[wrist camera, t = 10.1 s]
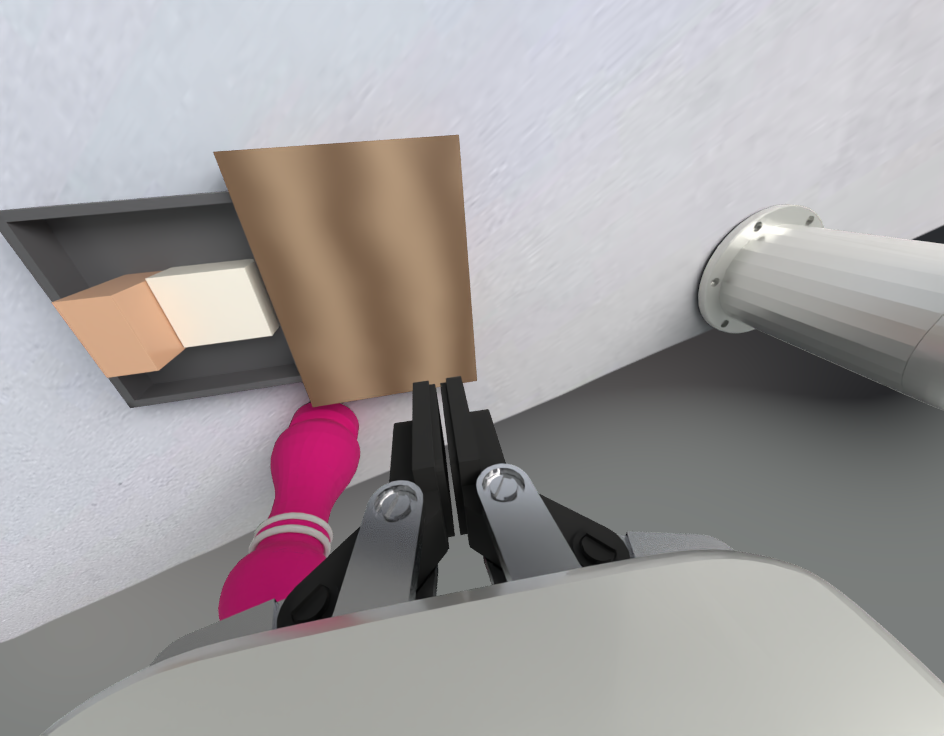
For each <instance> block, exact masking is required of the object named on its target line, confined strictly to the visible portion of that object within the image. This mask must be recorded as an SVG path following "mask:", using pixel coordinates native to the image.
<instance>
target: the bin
mask: <svg viewBox="0 0 944 736" xmlns="http://www.w3.org/2000/svg"><path fill="white" fill-rule="evenodd" d="M0 232H1V233H2V235H3V236H4V237H5V239H6V240H7V242H8V243H9V244H10V246H11V247H12V248H13V250H14V251H15V252H16V254H17V255H18V256H19V258H20V259H21V261H22V262H23V263H24V265H25V266H26V267H27V269H28V270H29V271H30V273H31V274H32V275H33V277H34V278H35V279H36V281H37V282H38V284H39V285H40V286H41V288H42V289H43V290H44V292H45V293H46V294H47V296H48V297H49V298H50V300H51V301H52V302H54V301H57V300H59V299H62V298H65V297H67V296H70V295H73V294H75V293H78V292H80V291H83V290H86V289H88V288H91V287H94V286H96V285H99V284H102V283H104V282H107V281H110V280H112V279H115V278H118V277H120V276H123V275H127V274H136V273H145V272H155V271H164V270H167V269H169V268H171V267H180V266H189V265H198V264H208V263H217V262H226V261H236V260H245V259H254V262H255V264H256V267H257V269H258V272H259V274H260V277H261V279H262V282H263V285H264V287H265V290H266V292H267V295H268V297H269V300H270V302H271V305H272V307H273V304H272V301H271V299H270V296H269V294H268V291H267V289H266V286H265V284H264V281H263V278H262V276H261V273H260V271H259V268H258V266H257V263H256V260H255V258H254V255H253V253H252V250H251V248H250V245H249V243H248V240H247V237H246V235H245V232H244V230H243V227H242V225H241V222H240V219H239V217H238V214H237V212H236V209H235V207H234V204H233V202H232V199H231V196H230V194H229V191H223V192H211V193H199V194H187V195H175V196H163V197H151V198H138V199H126V200H114V201H102V202H90V203H78V204H66V205H54V206H42V207H31V208H21V209H10V210H0ZM273 310H274V313H275V315H276V318H277V320H278V323H279V325H280V322H279V319H278V317H277V314H276V312H275V309H274V307H273ZM109 380H110V381H111V382H112V384H113V385H114V386H115V388H116V389H117V391H118V392H119V393H120V395H121V396H122V397H123V399H124V400H125V401H126V403H127V404H128V405H129V407H130V408H134V407H141V406H147V405H154V404H160V403H167V402H173V401H180V400H186V399H193V398H200V397H206V396H213V395H219V394H226V393H232V392H239V391H245V390H252V389H258V388H265V387H272V386H278V385H285V384H291V383H298V382H303V381H302V378H301V376H300V373H299V371H298V368H297V366H296V363H295V360H294V358H293V355H292V353H291V350H290V348H289V345H288V342H287V340H286V337H285V335H284V332H283V330H282V327H281V325H280V326H279V328H278V329H277V330H276V332H275V333H274V334H273V335H272V336H266V337H259V338H252V339H244V340H237V341H229V342H222V343H215V344H207V345H200V346H192V347H187V348H185V349H184V350H183V351H182V352H181V353H179V354H178V355H177V356H176V357H175V358H173V359H172V360H171V361H170V362H169V363H167V364H166V365H165V366H164V367H163V368H161V369H160V370H159V371H152V372H145V373H138V374H131V375H123V376H116V377H109Z"/></svg>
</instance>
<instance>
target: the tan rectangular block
mask: <svg viewBox="0 0 944 736" xmlns="http://www.w3.org/2000/svg"><path fill="white" fill-rule="evenodd" d="M159 272H162V271H155V272H145V273H136V274H127V275H123V276H120V277H118V278H115V279H112V280H110V281H107V282H104V283H102V284H99V285H96V286H94V287H91V288H88V289H86V290H83V291H80V292H78V293H75V294H73V295H70V296H67V297H65V298H62V299H59V300H57V301H54V302H51V303H52V304H53V305H54V307H55V308H56V309H57V311H58V312H59V313H60V315H61V316H62V318H63V319H64V320H65V322H66V323H67V324H68V326H69V327H70V328H71V330H72V331H73V332H74V334H75V335H76V336H77V338H78V339H79V341H80V342H81V343H82V345H83V346H84V347H85V349H86V350H87V351H88V353H89V354H90V355H91V357H92V358H93V359H94V361H95V362H96V364H97V365H98V366H99V368H100V369H101V370H102V372H103V373H104V374H105V376H106V377H107V378H109V377H116V376H123V375H131V374H138V373H145V372H152V371H159V370H160V369H161V368H163V367H164V366H165V365H166V364H167V363H169V362H170V361H171V360H172V359H173V358H175V357H176V356H177V355H178V354H179V353H181V352H182V351H183V350H184V349H185V348H187V347H185V348H184V346H183V344H182V343H181V341H180V339H179V337H178V336H177V334H176V332H175V330H174V329H173V327H172V325H171V323H170V322H169V320H168V318H167V316H166V315H165V313H164V311H163V309H162V308H161V306H160V304H159V302H158V301H157V299H156V297H155V295H154V294H153V292H152V290H151V288H150V286H149V285H148V283H147V281H146V279H145V278H148V277H150V276H152V275H155V274H157V273H159Z"/></svg>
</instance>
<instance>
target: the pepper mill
mask: <svg viewBox="0 0 944 736" xmlns="http://www.w3.org/2000/svg"><path fill="white" fill-rule="evenodd" d="M358 430H359V423H358V420H357V417H356V416H355V414H354V413H353V412H352V411H351V410H350V409H349V408H348V407H346V406H344V405H342V404H340V403H336V404H330V405H324V406H318V407H312V404H311V402H310V403H308V404H306V405H304V406H302V407H301V408H299V409H298V410H297V411H296V413H295V414H294V416H293V419H292V421H291V423H290V426H289V428H287V429H286V430H285V431H284V432H283V433H282V434H281V435H280V436H279V438H278V439H277V441H276V442H275V445H274V448H273V452H272V455H271V474H272V479H273V483H274V487H275V500H274V504H273V507H272V511H271V513H270V515H269V517H268V519H267V520H265V521H264V522H262V523H261V524H260V525H259V526H258V527H257V529H256V530H255V533H254V538H253V540H252V541H251V543H250V545H249V549H248V555H247V556H245V557H244V558H243V559H241V560H240V561H239V562H238V563H237V565H236V566H235V567H234V568H233V570H232V571H231V572H230V574H229V575H228V577H227V579H226V581H225V583H224V586H223V589H222V592H221V596H220V601H219V607H218V609H219V619H220V621H221V620H223V619H226V618H228V617H231V616H233V615H235V614H238V613H240V612H243V611H245V610H247V609H250V608H252V607H255V606H257V605H260V604H262V603H264V602H267V601H269V600H272V599H274V598H275V600H276V601H277V602H278V601H281V600H283V599H286V597H287V596H288V595H289V593H290V592H291V591H292V590H293V589H294V588H295V587H296V586H297V585H298V584H299V583H300V582H301V581H302V580H303V579H304V578H305V577H306V576H307V575H309V574H310V573H311V572H312V571H313V570H314V569H315V568H316V567H317V566H318V565H319V564H320V563H321V562H323V561H324V560H325V559H326V558H327V557H328V556H329V554H330V551H331V542H332V539H333V532H332V529H331V527H330V526H329V525H328V520H329V516H330V512H331V509H332V507H333V505H334V503H335V502H336V500H337V499H338V497H339V496H340V494H341V493H342V492H343V491H344V489H345V488H346V487H347V486H348V484H349V483H350V481H351V479H352V478H353V476H354V474H355V472H356V470H357V467H358V463H359V459H360V447H359V444H358V441H357V437H358Z"/></svg>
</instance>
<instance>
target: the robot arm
mask: <svg viewBox="0 0 944 736" xmlns="http://www.w3.org/2000/svg"><path fill="white" fill-rule="evenodd" d="M698 302H699V308H700V312H701V315H702V316H703V318H704V319H705V321H706V322H707V323H708V324H710V325H711V326H712V327H714V328H716V329H718V330H720V331H723V332H727V333H743V332H748V331H751V330H754V329H757V330H759V331H762V332H764V333H766V334H769V335H771V336H773V337H775V338H778V339H780V340H782V341H785V342H787V343H789V344H791V345H794V346H796V347H798V348H800V349H803V350H805V351H807V352H809V353H812V354H814V355H816V356H819V357H821V358H823V359H826V360H828V361H830V362H832V363H835V364H837V365H839V366H841V367H844V368H846V369H848V370H850V371H853V372H855V373H857V374H860V375H862V376H864V377H866V378H869V379H871V380H873V381H875V382H878V383H880V384H882V385H885V386H887V387H890V388H892V389H894V390H896V391H899V392H901V393H903V394H905V395H907V396H910V397H912V398H915V399H917V400H919V401H922V402H924V403H926V404H929V405H931V406H933V407H936V408H939V409H942V410H944V244H939V243H931V242H924V241H916V240H909V239H901V238H894V237H886V236H879V235H871V234H864V233H856V232H848V231H841V230H833V229H826V228H824V226H823V223H822V220H821V219H820V217H819V216H818V214H817V213H816V212H814V211H813V210H812V209H810V208H807V207H804V206H801V205H790V204H785V205H775V206H772V207H769V208H766V209H763V210H761V211H759V212H757V213H756V214H754V215H752V216H750V217H749V218H747V219H746V220H745V221H743V222H742V223H740V224H739V225H738V226H737V227H736V228H735V229H734V230H733V231H732V232H730V233H729V234H728V235H727V237H726V238H725V239H724V240H723V241H722V242H721V244H720V245H719V246H718V247H717V249H716V250H715V252H714V254H713V255H712V257H711V258H710V260H709V262H708V264H707V266H706V268H705V270H704V273H703V276H702V279H701V282H700V287H699V293H698ZM440 386H441V394H442V402H443V410H444V418H445V426H446V434H447V442H448V450H449V458H450V465H451V473H452V480H453V486H454V493H455V500H456V507H457V514H458V521H459V528H460V534H461V535H463V534H468V540H469V545H470V547H471V548H472V549H474V550H475V551H477V552H478V553H480V554H481V555H483V559H484V564H485V567H486V569H487V572H488V575H489V578H490V581H491V584H492V585H490V586H485V587H481V588H475V589H470V590H465V591H460V592H455V593H450V594H445V595H440V596H436V594H437V583H438V563H439V561H440V560H441V559H442V558H443V556H444V555H445V554H446V552H447V550H448V549H449V543H448V537H452V536H455V533H454V524H453V515H452V506H451V498H450V490H449V481H448V472H447V462H446V453H445V445H444V438H443V432H442V425H441V418H440V412H439V405H438V399H437V392H436V386H435V384H430V385H429V381H421V382H414V383H413V414H412V421H406V422H400V423H395V424H394V429H393V441H392V454H391V467H390V480H389V483H388V484H385V485H383V486H382V487H380V488H379V489H378V490H376V492H375V493H374V494H373V495H372V497H371V498H370V500H369V502H368V504H367V507H366V510H365V513H364V517H363V520H362V523H361V526H360V527H359V528H358V529H357V530H356V531H355V532H354V533H353V534H351V535H350V536H349V537H348V538H347V539H346V540H345V541H344V542H343V543H342V544H341V545H340V546H339V547H338V548H337V549H335V550H334V551H333V552H332V553H331V554H330V555H329V556H328V557H327V558H326V559H325V560H324V561H323V562H321V563H320V564H319V565H318V566H317V567H316V568H315V569H314V570H313V571H312V572H311V573H310V574H309V575H307V576H306V577H305V578H304V579H303V580H302V581H301V582H300V583H299V584H298V585H297V586H296V587H295V588H294V589H293V590H292V591H291V592H290V593H289V595H288V596H287V597H286V599H283V600H281V601H278V602H277V601H276V600H275V598H274V599H272V600H269V601H267V602H264V603H262V604H260V605H257V606H255V607H252V608H250V609H247V610H245V611H243V612H240V613H238V614H235V615H233V616H231V617H228V618H226V619H223V620H221V621H218V622H216V623H214V624H211V625H209V626H207V627H204V628H201V629H199V630H197V631H194V632H192V633H189V634H187V635H185V636H183V637H181V638H180V639H178V640H176V641H174V642H172V643H171V644H170V645H169V646H168V647H167V648H165V649H164V650H163V651H162V652H161V653H160V654H159V655H158V656H157V657H156V658H155V659H154V661H153V662H152V663H151V664H150V666H149V667H147V668H145V669H143V670H140V671H139V672H136V673H135V674H132V675H130V676H128V677H127V678H125V679H123V680H121V681H119V682H117V683H116V684H114V685H112V686H110V687H109V688H107V689H105V690H103V691H102V692H100V693H98V694H96V695H94V696H93V697H91V698H90V699H88V700H87V701H85V702H84V703H82V704H81V705H79V706H78V707H76V708H75V709H73V710H72V711H70V712H69V713H68V714H66V715H65V716H63V717H62V718H61V719H59V720H58V721H56V722H55V723H54V724H53V725H52V726H51V727H50V728H48V729H47V730H46V731H45V732H43V733H42V734H41V735H40V736H944V683H942V681H941V680H940V679H938V678H937V677H936V676H935V675H934V674H933V673H932V672H931V671H930V670H929V669H928V668H927V667H926V666H925V665H924V664H923V663H922V662H921V661H920V660H919V659H918V658H916V657H915V656H914V655H913V654H912V653H911V652H910V651H909V650H908V649H907V648H905V647H904V646H903V645H902V644H901V643H900V642H899V641H898V640H897V639H896V638H895V637H893V636H892V635H891V634H890V633H889V632H888V631H887V630H886V629H885V628H884V627H882V626H881V625H880V624H879V623H878V622H877V621H875V620H874V619H873V618H872V617H871V616H870V615H868V614H867V613H866V612H865V611H864V610H863V609H861V608H860V607H859V606H858V605H857V604H856V603H855V602H853V601H852V600H851V599H849V598H848V597H847V596H846V595H844V594H843V593H842V592H841V591H839V590H838V589H836V588H835V587H834V586H832V585H831V584H829V583H828V582H827V581H825V580H823V579H822V578H820V577H818V576H817V575H815V574H813V573H812V572H810V571H807V570H805V569H803V568H801V567H799V566H796V565H793V564H791V563H788V562H785V561H781V560H778V559H774V558H771V557H767V556H762V555H757V554H752V553H746V552H739V551H734V550H733V549H732V548H731V547H729V546H728V545H727V544H725V543H724V542H722V541H720V540H718V539H716V538H714V537H712V536H706V535H702V534H680V533H679V534H678V533H657V532H633V531H627V532H626V535H617V534H616V533H614V532H613V531H611V530H610V529H608V528H606V527H604V526H602V525H600V524H598V523H596V522H594V521H592V520H590V519H588V518H586V517H584V516H582V515H580V514H578V513H576V512H574V511H573V510H570V509H568V508H567V507H564V506H562V505H560V504H558V503H556V502H554V501H552V500H550V499H548V498H546V497H544V496H543V495H541V494H539V493H538V492H537V490H536V488H535V487H534V485H533V483H532V482H531V480H530V478H529V477H528V475H527V474H526V473H525V472H524V471H523V470H522V469H520V468H519V467H517V466H514V465H511V464H506V462H505V459H504V457H503V453H502V450H501V447H500V444H499V440H498V437H497V434H496V431H495V428H494V425H493V421H492V418H491V415H490V412H489V410H488V409H486V410H480V411H473V412H469V408H468V404H467V400H466V395H465V391H464V387H463V382H462V378H461V376H457V377H450V378H446V382H444V383H440Z"/></svg>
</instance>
